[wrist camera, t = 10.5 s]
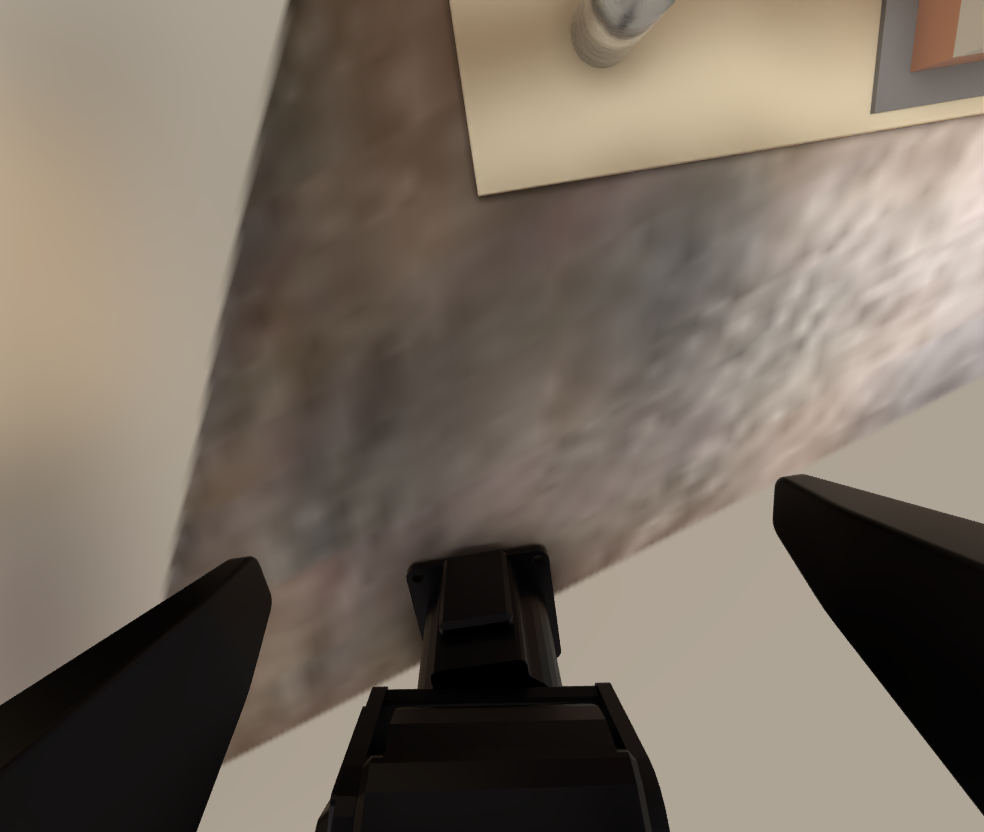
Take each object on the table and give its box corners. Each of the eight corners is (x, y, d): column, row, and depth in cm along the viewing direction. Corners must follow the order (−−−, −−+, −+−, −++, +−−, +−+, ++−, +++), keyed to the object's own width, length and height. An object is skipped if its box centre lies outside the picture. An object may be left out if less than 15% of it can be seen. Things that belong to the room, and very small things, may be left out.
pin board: (1078, 98, 17) (1121, 89, 16) (478, 196, 18) (478, 195, 17) (1153, -221, 14) (1211, -259, 13) (434, -95, 15) (431, -121, 14)
